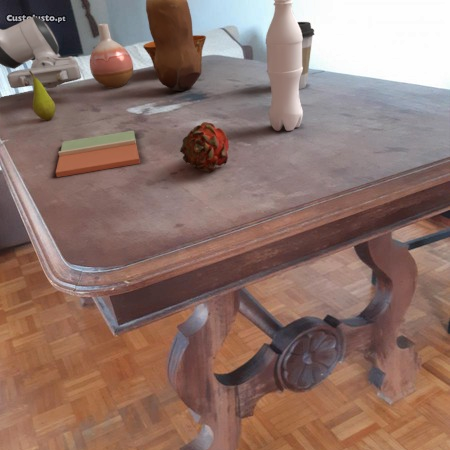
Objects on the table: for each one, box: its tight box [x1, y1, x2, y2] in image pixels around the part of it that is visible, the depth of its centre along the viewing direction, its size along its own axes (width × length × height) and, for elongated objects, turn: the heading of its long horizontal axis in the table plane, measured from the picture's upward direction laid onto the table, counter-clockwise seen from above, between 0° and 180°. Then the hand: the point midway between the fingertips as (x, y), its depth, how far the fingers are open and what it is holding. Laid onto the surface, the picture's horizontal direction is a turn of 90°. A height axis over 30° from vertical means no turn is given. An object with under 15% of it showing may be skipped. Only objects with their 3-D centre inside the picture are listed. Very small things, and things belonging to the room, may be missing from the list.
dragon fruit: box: [179, 121, 230, 173], centre depth 85 cm, size 8×8×12 cm
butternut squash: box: [145, 0, 203, 92], centre depth 133 cm, size 14×13×25 cm
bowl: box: [142, 34, 207, 69], centre depth 160 cm, size 21×21×10 cm
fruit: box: [29, 71, 56, 121], centre depth 124 cm, size 6×6×12 cm
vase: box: [89, 23, 134, 89], centre depth 150 cm, size 14×14×18 cm
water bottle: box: [265, 0, 304, 132], centre depth 94 cm, size 7×7×25 cm
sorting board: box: [55, 129, 140, 178], centre depth 99 cm, size 16×20×2 cm
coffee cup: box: [297, 21, 315, 90], centre depth 126 cm, size 11×11×15 cm
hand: (42, 80), depth 131 cm, fingers open, 8 cm apart
